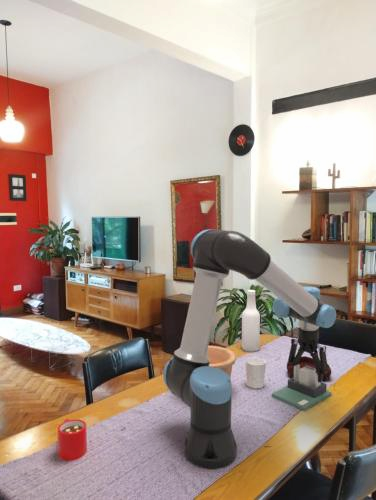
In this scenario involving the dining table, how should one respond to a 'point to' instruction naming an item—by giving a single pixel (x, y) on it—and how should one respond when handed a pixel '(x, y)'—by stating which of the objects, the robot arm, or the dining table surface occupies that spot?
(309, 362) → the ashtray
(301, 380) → the plug
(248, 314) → the alcohol
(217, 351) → the pottery
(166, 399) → the dining table surface
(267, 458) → the dining table surface
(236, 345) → the dining table surface
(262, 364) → the white cup
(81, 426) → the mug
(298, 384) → the board
